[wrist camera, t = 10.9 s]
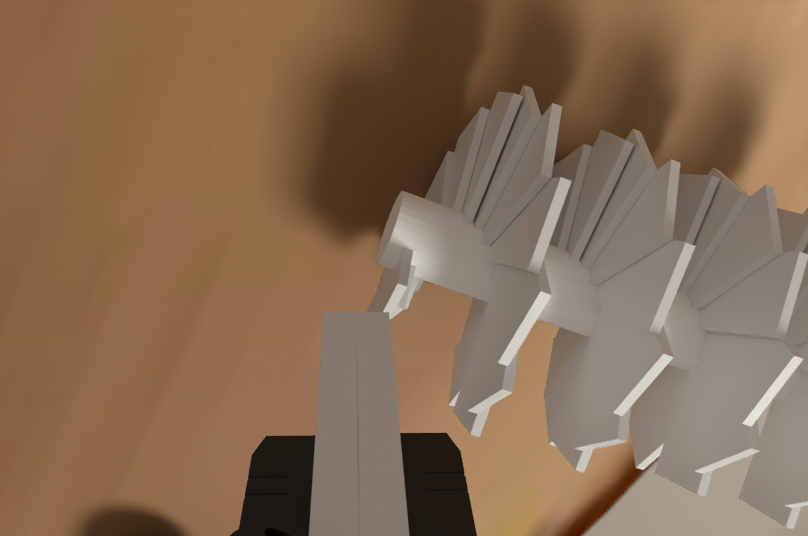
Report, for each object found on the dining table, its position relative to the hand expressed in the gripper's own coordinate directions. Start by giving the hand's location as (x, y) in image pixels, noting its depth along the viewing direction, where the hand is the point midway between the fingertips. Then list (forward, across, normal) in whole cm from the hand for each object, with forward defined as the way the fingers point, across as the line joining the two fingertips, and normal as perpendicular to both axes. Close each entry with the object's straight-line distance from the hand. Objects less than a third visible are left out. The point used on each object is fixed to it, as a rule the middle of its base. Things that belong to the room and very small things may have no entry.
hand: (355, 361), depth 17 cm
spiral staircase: (+27, +14, -9) cm, 32 cm away
